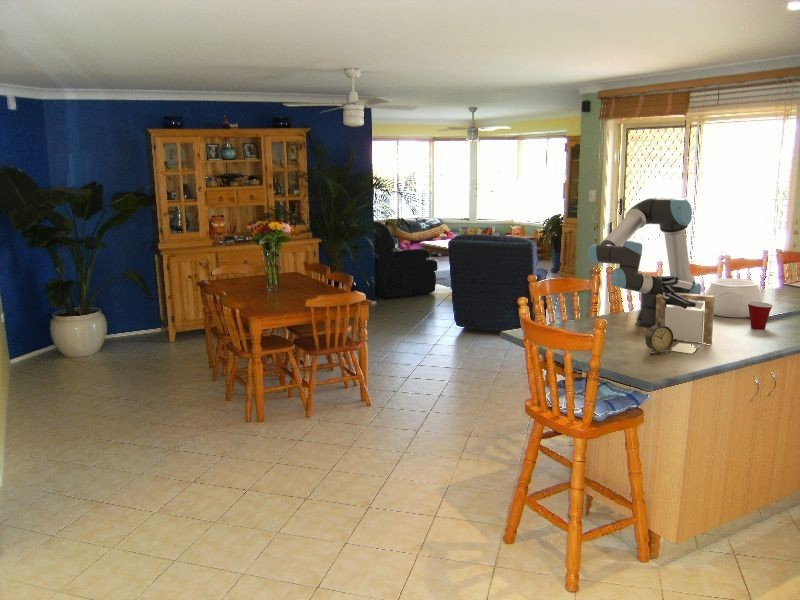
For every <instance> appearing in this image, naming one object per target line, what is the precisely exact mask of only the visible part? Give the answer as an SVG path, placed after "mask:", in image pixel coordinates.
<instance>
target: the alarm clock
mask: <svg viewBox="0 0 800 600" xmlns="http://www.w3.org/2000/svg"><path fill="white" fill-rule="evenodd" d="M658 316H661V315H658ZM658 316H657V317H658ZM657 317H656V319H657ZM661 317H662V316H661ZM662 320H663V317H662ZM656 322H657V320H656ZM661 322H662V321H661ZM657 323H658V325H654V326H652V327H649V329H648V330H647V331H646V334H645V338H644V339H645V345H646V346H647V348H648V349H650V350H651V352H653V353H654V352H655V351H656V352H657V353H665V352H668V350H669V349H671V348H672V347H673V343H674V340H673V339H674V336H673V332H672V330H671V329H670V328H669V327H667V326H662V325H660V322H657Z"/></svg>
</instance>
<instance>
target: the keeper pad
mask: <svg viewBox="0 0 800 600" xmlns="http://www.w3.org/2000/svg"><path fill="white" fill-rule="evenodd" d="M689 343H690V344H691V346H692V344H693V345H694V346H695V347H694V348H696V349H697V348H698V347H699V346H700V345H701V346H702V344H701V343H694V342H692V343H691V342H689Z"/></svg>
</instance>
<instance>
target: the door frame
mask: <svg viewBox="0 0 800 600" xmlns="http://www.w3.org/2000/svg"><path fill="white" fill-rule="evenodd" d="M670 294H671V293H670ZM677 294H678V295H680V296H682V297H683V298H685V299H687V300H688V299H690V300H695V301H699V302H704V317H703V336H702V344H703V343H706V344H711V343H712V342H713V332H714V331H713V326H714V314H713V313H714V299H715V296H714V295H706V294H701V293H700V294H687V293H677ZM656 297H657V298H656V317H657V316H658V315H661V316H662V317H663V320H662V317H661V316H658V317H657V319H656V320H657V322H660V325H662V326H664V320H665V300H664V299H663V297H664V296H663V295H661V294H658V295H656ZM661 321H662V322H661ZM657 322H656V325H658V323H657ZM712 344H713V343H712ZM712 344H711V345H712Z"/></svg>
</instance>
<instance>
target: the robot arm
mask: <svg viewBox="0 0 800 600" xmlns="http://www.w3.org/2000/svg"><path fill="white" fill-rule="evenodd" d="M692 215H693V210H692V205H691V203H690V202H689V201H688V200H687V199H685V198H682V197H681V198H679V197H650V198H646V199H644V200H642V201H640V202H638V203H636V204H635V205H633V206H632V207H630V209H629V210H628V211H627V212H626V213H625V216H624V218H623V219H622V220H621V221H620V222H619V223H618V225H617V226H616V227H614V229H612V231H611V232H610V233H609V234H608V235H607V236H606V237H605V238H604V239H603V240H602V241H601V242H600V243H599V244H598V243H596V244H591V245H590V246H589V247H588V250H587V256H588V257H587V258H588V259H589V260H588V261H590V262H593V263H598V264H599V263H601V264H611V265H612V264H613V265H614V264H616V265H619V267H617V268H616V267H615V268H614V269H613V270H612V272H611V275H610V283H611V284H612V285H611V286H613V287H617V288H620V289H623V290H629V291H633V292H636V293H637V292H638V293H640V294H641V297H640V309H639V311H638V312H639V313H638V314H637V317H636V324H637V325H638V324H639V325H638V326H640V325H643V326H642V327H644V326H648V327H647V328H651V327H652V326H654V325H656V298H657V297H656V295H658V294H661V295H663V296H664V297H663V299H664V300H665V308H666V307H668V306H673V307H674V306H675V307H676V306H677V307H679V308H684V309H688V308H695V309H698V310H702V308H703V306H704V305H705V302H704V301H695V300H690V299H688V300H687V299H685V298H683V297H682V296H680V295H678V294H677V293H687V294H701V292H702V286H701V284H700V283H699V282H696V280H695V277H694V275H692V274H691V268H690V260H689V259H690V258H689V252H688V245H687V238H686V237H687V236H686V229H687V228H688V226H689V224H691V221H692V218H693V217H692ZM646 225H659V230H660V231H661V232H662V233H663V234H664V239H665V246H666V247H665V248H666V254H667V262H668V268H669V269H668V270H669V275H667V276H665V275H662V276H661V275H660V276H659V275H657V276H653V275H648V274H645V273H644V274H643V273H639V268H640V264H641V258H642V253H643V244H642V242H641V243H640V242H638V241H633V240H630V239H631V238H632V236H633V235H634V234H635V233H636V231H638V230H639V229H641V228H644V227H645V226H646ZM670 293H671V294H670ZM664 326H665V320H664Z"/></svg>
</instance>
